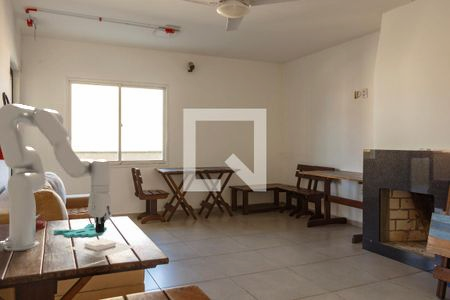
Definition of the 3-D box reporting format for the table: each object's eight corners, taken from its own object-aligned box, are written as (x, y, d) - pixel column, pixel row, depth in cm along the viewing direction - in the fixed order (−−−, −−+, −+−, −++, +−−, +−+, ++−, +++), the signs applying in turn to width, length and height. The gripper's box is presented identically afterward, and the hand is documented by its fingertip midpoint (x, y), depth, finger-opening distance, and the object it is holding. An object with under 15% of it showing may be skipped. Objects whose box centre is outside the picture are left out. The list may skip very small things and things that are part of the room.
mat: (98, 259, 133) (98, 257, 133) (68, 249, 145) (68, 247, 145) (135, 248, 148) (135, 246, 148) (105, 240, 159) (105, 238, 159)
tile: (84, 247, 146) (97, 251, 141) (84, 242, 146) (97, 246, 141) (102, 242, 153) (115, 246, 148) (102, 238, 153) (115, 242, 148)
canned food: (36, 239, 176) (30, 223, 172) (22, 234, 180) (15, 219, 175) (53, 224, 186) (48, 209, 181) (39, 220, 189) (33, 206, 184)
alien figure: (54, 234, 169) (76, 242, 157) (54, 230, 169) (76, 237, 157) (91, 227, 185) (114, 234, 173) (91, 223, 185) (114, 229, 173)
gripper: (81, 188, 148) (81, 231, 149) (103, 191, 140) (103, 237, 140) (97, 186, 155) (96, 228, 155) (119, 189, 146) (118, 233, 146)
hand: (99, 232), depth 147 cm, fingers closed
